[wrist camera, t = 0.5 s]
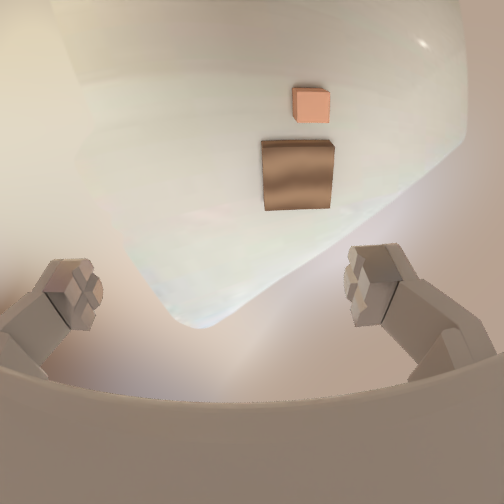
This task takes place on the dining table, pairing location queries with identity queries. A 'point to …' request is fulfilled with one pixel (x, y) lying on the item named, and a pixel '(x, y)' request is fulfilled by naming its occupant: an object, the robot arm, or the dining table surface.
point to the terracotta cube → (311, 105)
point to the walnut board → (297, 174)
